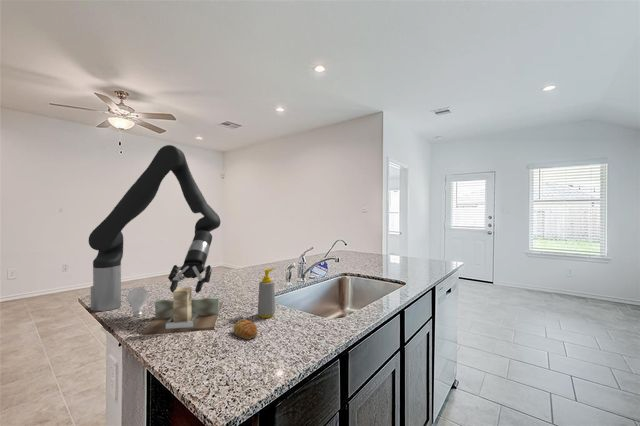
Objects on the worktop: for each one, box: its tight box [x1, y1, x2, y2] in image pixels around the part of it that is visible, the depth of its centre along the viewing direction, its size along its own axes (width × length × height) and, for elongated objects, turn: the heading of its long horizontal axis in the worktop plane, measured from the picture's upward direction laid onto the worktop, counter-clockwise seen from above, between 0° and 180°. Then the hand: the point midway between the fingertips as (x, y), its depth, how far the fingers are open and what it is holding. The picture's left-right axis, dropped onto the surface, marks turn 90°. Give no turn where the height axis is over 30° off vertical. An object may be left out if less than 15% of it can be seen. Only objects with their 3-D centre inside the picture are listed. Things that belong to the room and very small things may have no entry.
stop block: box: [172, 287, 192, 322], centre depth 100 cm, size 4×4×12 cm
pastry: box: [232, 318, 258, 340], centre depth 95 cm, size 9×7×4 cm
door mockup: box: [141, 296, 224, 336], centre depth 108 cm, size 22×26×7 cm
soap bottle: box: [257, 267, 276, 319], centre depth 111 cm, size 7×7×18 cm
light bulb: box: [126, 287, 149, 316], centre depth 109 cm, size 7×7×11 cm
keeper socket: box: [166, 313, 198, 330], centre depth 100 cm, size 8×8×2 cm
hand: (184, 291), depth 102 cm, fingers open, 8 cm apart
